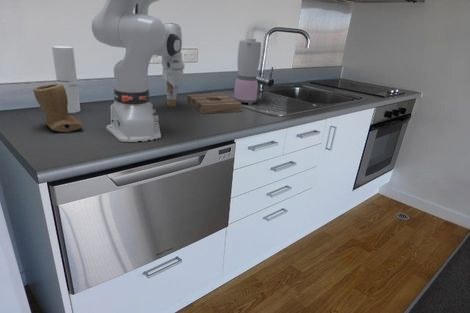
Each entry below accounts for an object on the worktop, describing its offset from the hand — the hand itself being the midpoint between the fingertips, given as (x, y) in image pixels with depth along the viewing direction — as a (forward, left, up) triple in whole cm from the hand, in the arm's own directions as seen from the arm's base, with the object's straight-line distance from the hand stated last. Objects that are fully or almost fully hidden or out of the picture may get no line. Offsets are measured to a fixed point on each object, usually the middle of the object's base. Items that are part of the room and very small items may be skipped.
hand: (171, 92), depth 148 cm
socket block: (-6, -19, -6) cm, 21 cm away
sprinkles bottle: (0, 0, -6) cm, 7 cm away
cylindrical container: (-1, +43, -6) cm, 44 cm away
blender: (+2, -41, -6) cm, 41 cm away
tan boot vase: (-22, +47, -6) cm, 52 cm away
